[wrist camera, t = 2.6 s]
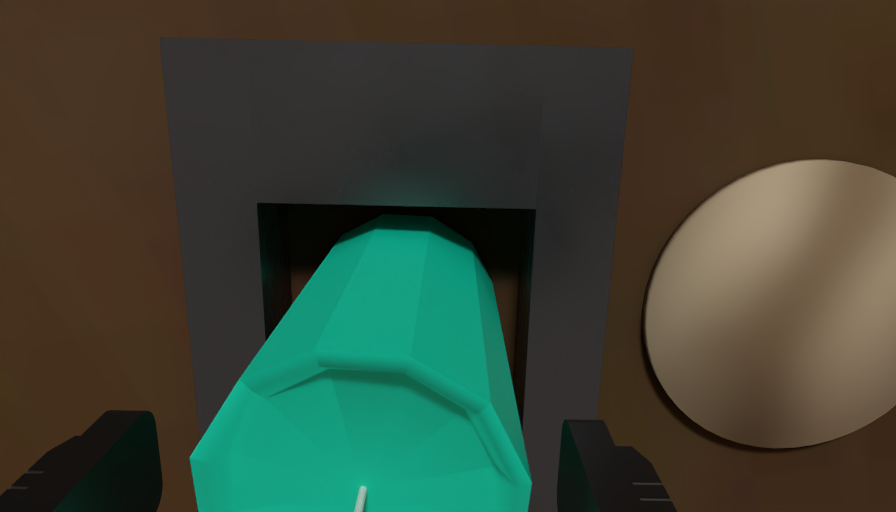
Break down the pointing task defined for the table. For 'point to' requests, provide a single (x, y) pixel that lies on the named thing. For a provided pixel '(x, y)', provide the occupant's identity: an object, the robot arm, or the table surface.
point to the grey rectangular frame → (401, 189)
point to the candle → (375, 389)
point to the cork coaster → (780, 305)
